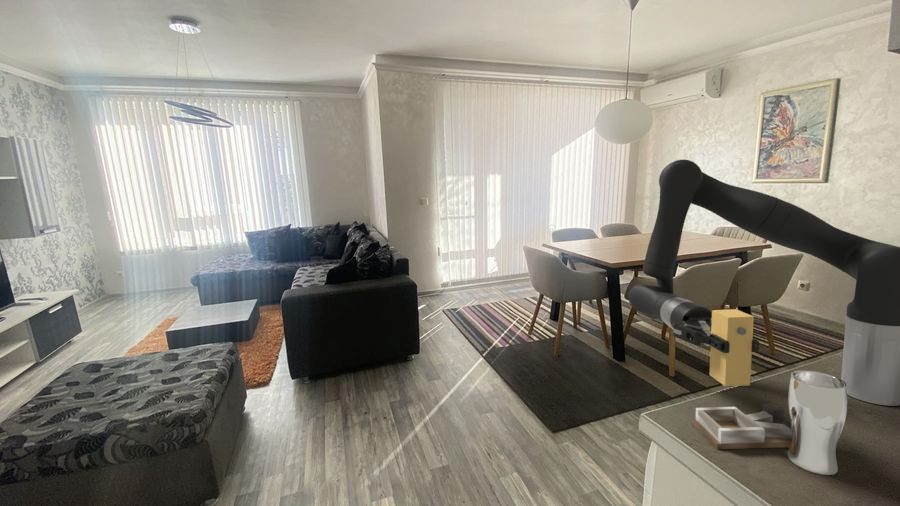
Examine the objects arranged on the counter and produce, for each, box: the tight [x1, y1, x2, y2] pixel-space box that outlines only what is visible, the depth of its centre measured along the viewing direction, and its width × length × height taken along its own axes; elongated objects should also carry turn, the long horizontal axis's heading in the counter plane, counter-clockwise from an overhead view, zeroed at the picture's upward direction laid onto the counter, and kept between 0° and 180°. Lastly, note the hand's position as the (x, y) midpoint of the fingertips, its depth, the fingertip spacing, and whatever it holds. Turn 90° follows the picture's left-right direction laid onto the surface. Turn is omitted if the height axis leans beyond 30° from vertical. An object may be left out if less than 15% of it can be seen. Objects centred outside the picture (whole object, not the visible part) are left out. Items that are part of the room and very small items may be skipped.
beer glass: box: [787, 369, 848, 476], centre depth 62 cm, size 7×7×15 cm
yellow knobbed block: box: [708, 308, 755, 387], centre depth 69 cm, size 4×6×13 cm
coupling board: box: [691, 402, 792, 450], centre depth 71 cm, size 16×8×4 cm, turn 88°
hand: (741, 347), depth 67 cm, fingers closed on yellow knobbed block, 4 cm apart
